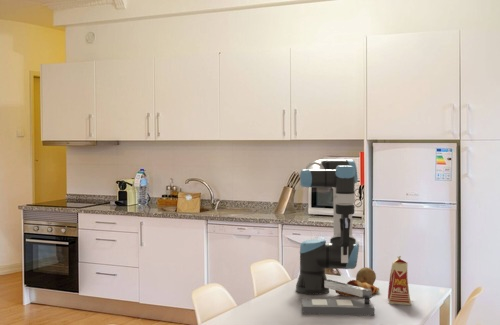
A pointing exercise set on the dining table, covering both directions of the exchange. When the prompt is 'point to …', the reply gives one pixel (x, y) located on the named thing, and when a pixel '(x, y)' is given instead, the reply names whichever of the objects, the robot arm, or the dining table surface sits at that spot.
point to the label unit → (338, 306)
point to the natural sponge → (366, 275)
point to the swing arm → (348, 288)
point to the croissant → (359, 284)
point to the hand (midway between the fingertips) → (344, 262)
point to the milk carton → (399, 283)
